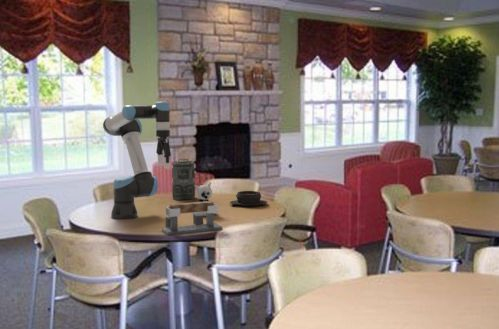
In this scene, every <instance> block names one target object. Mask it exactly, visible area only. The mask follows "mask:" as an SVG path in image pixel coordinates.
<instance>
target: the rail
mask: <svg viewBox="0 0 499 329" xmlns="http://www.w3.org/2000/svg"><path fill="white" fill-rule="evenodd" d="M213 203H214V202H213V201H212V200H209V201H205V202H199V201H194V202H184V203H183V202H182V203H171V204H169V207H170V209H176V208H180V215H181V214H189V213H190V214H191V213H192V212H203V211H207V206H212V205H213ZM192 214H193V213H192Z"/></svg>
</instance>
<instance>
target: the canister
mask: <svg viewBox="0 0 499 329" xmlns="http://www.w3.org/2000/svg"><path fill="white" fill-rule="evenodd" d="M180 160H181V161H180ZM171 165H172V168H171V178H172V184H171V186H172V188H171V189H172V192H171V194H172V198H173V199H174V200H178V201H183V200H194V199H195V198H196V188H195V186H194V185H196V183H195V178H196V177H195V176H196V175H195V172H196V171H195V162H194V161H192V160H189V159H188V158H179V159H178V161H177V160H176V161H173V162H172V163H171Z"/></svg>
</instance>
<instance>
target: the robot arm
mask: <svg viewBox="0 0 499 329" xmlns="http://www.w3.org/2000/svg"><path fill="white" fill-rule="evenodd" d="M170 108H171V107H170V102H168V101H156V102H155V104H151V105H149V104H148V105H147V104H146V105H145V104H143V105H141V104H139V105H133V104H132V105H131V104H129V105H124V106H123V107H122V110H121V111H120V112H118V113H117V114H115V115H111V116H108V117H106V118H105V119H104V121H103V122H102V128H103V130H104V132H106V133H107V134H108V135H110V136H115V137H121V140H122V141H124V143H125V146H126V149H127V152H128V156H129V160H130V164H131V167H132V171H133V174H134V175H126V176H120V177H117V178H114V180H113V186H112V187H113V188H112V189H113V206H112V210H111V213H110V214H111V215H110V218H112V219H118V220H122V219H123V220H124V219H126V220H127V219H133V218H137V217H138V215H139V214H138V209H137V207H136V205H135V199H137V198H145V197H146V198H147V197H152V196H155V195H156V194H157V193H158V189H159V180H158V178H157V176H153V174H152V171H149V169H148V165H147V162H146V159H145V155H144V151H143V148H142V144H141V141H140V137H141V134H142V133H143V132H142V131H143V128H142V127H143V126H142V123H141V120H142V119H143V120H145V119H147V120H149V119H153V120H154V119H155V129H156V130H155V134H156V137H157V143H156V144H157V145H156V155H157V167H164V169H166V170H167V169H168V170H170V169H171V168H170V163H171V162H170V160H171V159H170V157H171V146H170V140H169V138H167V137H170V136H171V130H170V126H171V123H170V122H171V120H170V111H171V110H170ZM163 159H164V160H163Z"/></svg>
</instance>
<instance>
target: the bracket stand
mask: <svg viewBox="0 0 499 329" xmlns="http://www.w3.org/2000/svg"><path fill="white" fill-rule="evenodd" d="M204 212H206V216H205V217H206V218H205V219H206V222H205V223H203V224H200V225H195V224H191V225H190V224H189V225H181V226H179V225H178V217H181V214H180V208H176V209H170V206H166V207H165V215H166V216H167V217H170V228H168V227H163V228H161V232H162V233H164V234H165V235H166V236H172V235H174V236H175V235H182V234H183V235H186V234H194V233H202V232H203V233H204V232H213V231H221V229H222V230H223V226H222V225H220V224H218V223H216V222H215V221H214V220H215V218H214V216H215V214H218V213H219V210H218V204H216V203H214V202H213V205H212V206H207V211H204ZM214 213H215V214H214Z"/></svg>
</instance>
